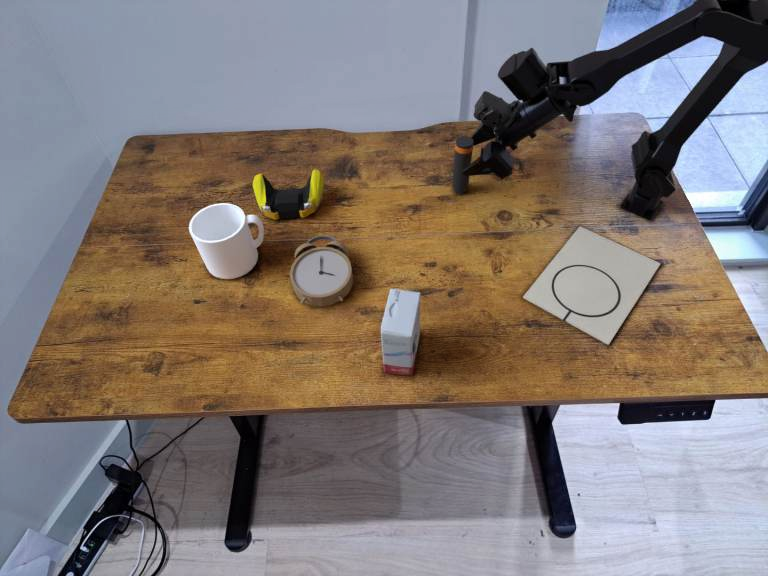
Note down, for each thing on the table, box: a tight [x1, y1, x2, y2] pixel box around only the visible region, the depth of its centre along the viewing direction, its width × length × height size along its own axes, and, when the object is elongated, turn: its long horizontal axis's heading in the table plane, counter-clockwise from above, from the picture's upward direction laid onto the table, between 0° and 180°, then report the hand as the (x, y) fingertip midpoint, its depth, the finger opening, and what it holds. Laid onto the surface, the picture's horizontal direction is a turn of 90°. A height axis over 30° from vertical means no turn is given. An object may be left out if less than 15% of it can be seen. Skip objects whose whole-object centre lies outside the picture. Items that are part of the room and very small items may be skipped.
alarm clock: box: [289, 234, 354, 307], centre depth 94 cm, size 11×5×15 cm
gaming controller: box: [252, 168, 326, 221], centre depth 106 cm, size 15×6×10 cm
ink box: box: [380, 288, 422, 377], centre depth 80 cm, size 9×5×12 cm, turn 168°
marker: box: [451, 135, 474, 195], centre depth 104 cm, size 4×4×12 cm
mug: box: [188, 202, 265, 280], centre depth 95 cm, size 13×10×10 cm
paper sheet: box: [522, 226, 661, 346], centre depth 92 cm, size 22×16×1 cm
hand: (465, 159), depth 102 cm, fingers open, 9 cm apart
